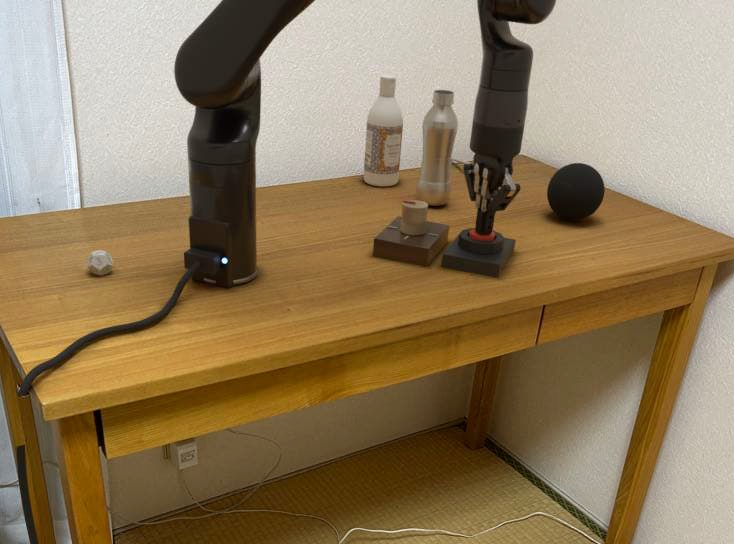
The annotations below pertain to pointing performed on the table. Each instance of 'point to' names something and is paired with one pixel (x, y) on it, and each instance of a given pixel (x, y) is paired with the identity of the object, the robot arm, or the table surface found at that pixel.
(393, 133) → the bath foam
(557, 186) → the speaker
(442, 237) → the dial panel
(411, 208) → the lock dial
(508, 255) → the button housing
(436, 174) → the plastic bottle
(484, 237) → the red push button
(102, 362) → the table surface
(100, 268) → the game die
